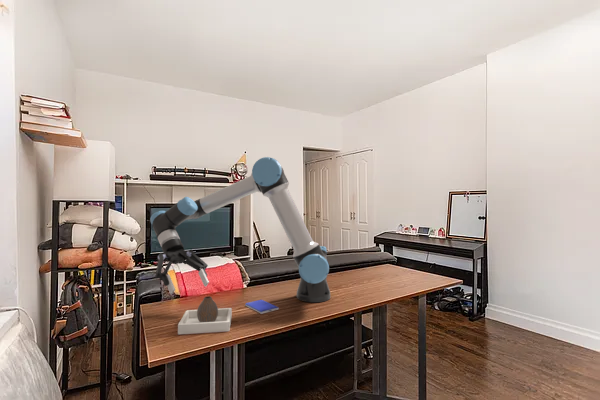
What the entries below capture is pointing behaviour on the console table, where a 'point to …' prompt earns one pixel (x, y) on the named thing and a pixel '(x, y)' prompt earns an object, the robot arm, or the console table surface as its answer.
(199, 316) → the vase
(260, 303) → the hard drive
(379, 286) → the console table surface
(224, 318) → the box
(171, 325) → the console table surface
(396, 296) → the console table surface
